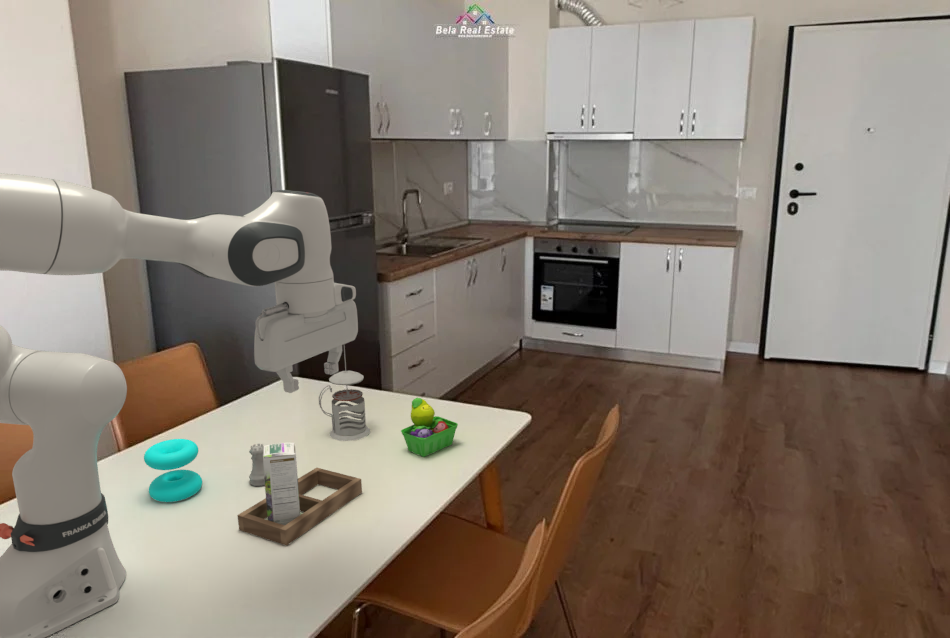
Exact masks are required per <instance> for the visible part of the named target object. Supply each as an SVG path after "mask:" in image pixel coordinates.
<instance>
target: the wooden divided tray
mask: <svg viewBox="0 0 950 638" xmlns="http://www.w3.org/2000/svg"><path fill="white" fill-rule="evenodd" d="M317 486H322V487H327V488H331V489H334V490H336V491H334V492H333V493H331V494H330V495H328V496H327V497H325V498H323V500H321V499H318V498H315V497H311V496H307V495H305V494H306V493H307V492H309V491H310V490H312V489H314V488H315V487H317ZM362 487H363V486H362V478H360V477H356V476H355V477H354V476H351V475H347V474H344V473H339V472H336V471H332V470H330V469H329V470H328V469H324V468H320V467H315V468H313V469H312V470H310V471H308V472H307V473H305V474H303V475H302V476H299V478H298V490H299V505H300V516H298V517H297V518H295V519H294V520H292V521H291V522H289V523H288V524H286V525H282V524H278V523H275V522H272V521H269V520H268V516H267V504H266V497H265V498H264V499H262V500H259V502H256V503H255V504H253V505H252V506H250V507H249V508H247V509H245V510H244V511H242V512H240V513H239V514H237V523H238V530H239V531H241V532H243V533H247V534H250V535H253V536H256V537H258V538H262V539H265V540H266V541H271V542H273V543H277V544H281V545H283V546H285V547H288V545H290V544H291V543H293V542H294V541H296V540H297V539H298V538H300V537H302V535H304V534H306V533H307V532H309V531H310V530H311V529H313V528H314V527H315V526H317V525H319V524H320V523H321V522H323V521H324V520H325V519H327V518H328V517H330V516H331V515H333V514H334V513H336V512H337V511H339V510H340V509H341V508H342V507H344V506H345V505H347V504H348V503H349V502H351V501H353V500H354V499H355V498H357V497H358V496H360V495H361V494H362V493H363V488H362Z"/></svg>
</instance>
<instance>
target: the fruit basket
mask: <svg viewBox="0 0 950 638" xmlns="http://www.w3.org/2000/svg"><path fill="white" fill-rule="evenodd" d="M410 410H411V411H410V420H411V422H412V425H410V426H409V425H408V426H407V427H405V428H403V429H401V430H400V432H401V435H402V436H403V439H404V442H405V444H406V447H407V449H408V451H409V452H411V453H413V454H415V455H418V456H421V457H423V458H426V457H427V456H429V455H431V454H435V453H436V452H437V451H441V450H443V449H445V448H447V447H450V446H451V445H453V442H454V438H455V434H456V430H457V428H458V425H459V424H458V423H457V422H455V421H452V420H450V419H446V418H444V417H442V416H438V415H437V416H435V415H436V412H435V410H434V408H433V407H432V406H431V405H430V404H428V402H427V401H426V400H425V399H423V398H421V397H416V398H413V400H412V401H411V409H410Z"/></svg>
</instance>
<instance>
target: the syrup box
mask: <svg viewBox="0 0 950 638" xmlns="http://www.w3.org/2000/svg"><path fill="white" fill-rule="evenodd" d="M263 446H264V447H263V448H264V449H263V465H264V480H265V485H264V489H265V490H264V492H265V498H266V504H267V516H268V517H267V518H268V520H269V521H272V522H275V523H278V524H282V525H286V524H288V523H289V522H291V521H292V520H294V519H295V518H297V517H298V516H300V512H301V511H300V505H299V490H298V477H299V476H298V467H297V465H298V463H297V462H298V461H297V453H296V452H297V451H296V443H295V442H278V443H272V444H266V445H263Z"/></svg>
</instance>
